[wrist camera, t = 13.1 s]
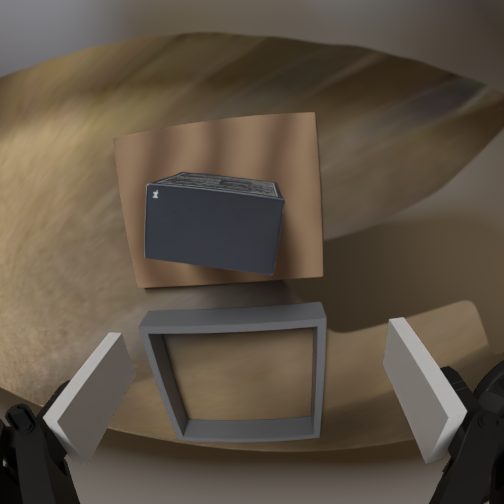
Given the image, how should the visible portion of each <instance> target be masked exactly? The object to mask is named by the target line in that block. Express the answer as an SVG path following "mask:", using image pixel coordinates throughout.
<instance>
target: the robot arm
mask: <svg viewBox="0 0 504 504" xmlns="http://www.w3.org/2000/svg"><path fill="white" fill-rule="evenodd" d="M383 367H384V369H385V371H386V373H387V375H388V377H389V380H390V382H391V384H392V386H393V388H394V391H395V393H396V395H397V397H398V399H399V402H400V404H401V406H402V409H403V411H404V413H405V415H406V418H407V420H408V422H409V425H410V427H411V429H412V432H413V434H414V437H415V439H416V441H417V444H418V446H419V449H420V451H421V454H422V456H423V459H424V461H425V464H428V463H431V462H434V461H437V460H441V459H443V457H444V456H445V454H446V452H447V450H448V451H449V453H450V455H451V458H450V460H449V461H448V463H447V465H446V466H445V468H444V470H443V472H444V473H443V475H442V478H441V480H440V481H439V483H438V485H437V488H436V491H435V493H434V495H433V497H432V499H431V501H430V503H429V504H504V361H502V362H501V363H500V364H498V365H497V366H496V367H495V368H493V369H492V370H491V371H490V372H489V373H488V374H487V375H486V376H485V378H484V379H483V380H482V381H481V383H480V384H479V385H478V387H477V388H476V390H475V391H474V393H472V392H471V390H470V389H469V388H468V387H467V385H466V383H465V382H463V379H462V378H461V376H460V375H459V373H458V372H457V371H455V370H454V369H452V368H451V367H449V366H447V367H443V368H439V367H438V365H437V364H436V362H435V361H434V360H433V358H432V357H431V355H430V354H429V352H428V351H427V349H426V348H425V347H424V345H423V344H422V342H421V341H420V339H419V338H418V337H417V335H416V334H415V333H414V331H413V330H412V328H411V327H410V326H409V324H408V323H407V322H406V320H405V319H404V318H403V317H402V318H395V319H389V325H388V333H387V340H386V347H385V353H384V360H383ZM135 376H136V373H135V371H134V368H133V365H132V362H131V359H130V356H129V354H128V351H127V348H126V344H125V341H124V338H123V335H122V333H109V334H108V335H107V336H106V337H105V339H104V340H103V341H102V342H101V344H100V345H99V346H98V347H97V348H96V350H95V351H94V352H93V353H92V355H91V356H90V357H89V358H88V360H87V361H86V362H85V363H84V365H83V366H82V367H81V368H80V370H79V371H78V372H77V373H76V375H75V376H74V377H73V379H72V380H71V381H69V380H68V381H66V382H65V383H64V384H62V385H61V386H60V387H59V388H58V389H57V390H56V392H55V393H54V395H52V397H51V398H50V400H49V401H48V402H47V403H46V404H45V406H44V407H43V408H42V410H41V411H40V412H39V414H38V415H37V416H36V417H35V416H34V414H33V413H32V411H31V409H30V408H29V406H27V405H26V404H17V405H14V406H12V407H11V408H10V409H9V410H8V411H7V413H6V415H5V418H6V420H7V421H8V423H9V424H10V426H11V427H9V426H6V425H5V424H4V422H3V421H2V420H1V419H0V504H80V502H79V499H78V496H77V493H76V490H75V487H74V484H73V481H72V478H71V474H70V471H69V468H68V464H67V462H66V460H65V459H64V457H65V455H66V454H68V455H69V456H70V458H71V459H72V460H73V461H74V462H77V463H80V464H84V465H88V463H89V461H90V459H91V457H92V455H93V453H94V451H95V449H96V447H97V445H98V444H99V442H100V440H101V438H102V436H103V434H104V432H105V431H106V429H107V427H108V425H109V423H110V421H111V419H112V418H113V416H114V414H115V412H116V410H117V408H118V407H119V405H120V403H121V401H122V399H123V397H124V396H125V394H126V392H127V390H128V388H129V387H130V385H131V383H132V381H133V380H134V378H135ZM3 460H4V461H5V462H6V464H5V467H4V466H3Z"/></svg>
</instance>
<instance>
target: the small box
mask: <svg viewBox="0 0 504 504" xmlns="http://www.w3.org/2000/svg"><path fill="white" fill-rule="evenodd" d="M284 206H285V199H284V198H283V197H282V194H281V192H280V189H279V187H278V183H275V182H268V181H261V180H253V179H246V178H238V177H230V176H221V175H214V174H205V173H204V174H203V173H191V172H180V173H178V174H176V175H173V176H170V177H166V178H163V179H160V180H157V181H154V182H152V183H149V184H147V185H146V201H145V226H144V227H145V230H144V257H145V258H147V259H155V260H162V261H169V262H177V263H184V264H191V265H199V266H207V267H214V268H221V269H228V270H236V271H243V272H251V273H258V274H266V275H273V273H274V269H275V264H276V258H277V252H278V246H279V239H280V233H281V227H282V219H283V213H284Z"/></svg>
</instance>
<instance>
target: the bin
mask: <svg viewBox="0 0 504 504" xmlns="http://www.w3.org/2000/svg"><path fill="white" fill-rule="evenodd" d="M305 327H313V364H312V398H311V416H309V417H298V418H284V419H266V420H193V419H187V416H186V413H185V410H184V407H183V404H182V401H181V398H180V395H179V392H178V388H177V385H176V382H175V379H174V376H173V372H172V369H171V365H170V362H169V359H168V355H167V351H166V348H165V344H164V341H163V337H162V334H183V333H224V332H247V331H265V330H280V329H293V328H305ZM139 330H140V333H141V337H142V340H143V343H144V347H145V350H146V353H147V356H148V359H149V362H150V365H151V368H152V371H153V374H154V377H155V380H156V383H157V386H158V389H159V391H160V394H161V397H162V400H163V402H164V405H165V408H166V410H167V413H168V415H169V418H170V420H171V423H172V425H173V428H174V430H175V433H176V435H177V437H178V440H187V441H204V442H270V441H288V440H301V439H311V438H319V437H320V426H321V415H322V402H323V387H324V371H325V350H326V315H325V312H324V309H323V307H322V304H321V302H313V303H301V304H288V305H274V306H259V307H243V308H224V309H201V310H169V311H149V312H148V313H147V315H146V316H145V318H144V319H143V321H142V322H141V324H140V325H139Z"/></svg>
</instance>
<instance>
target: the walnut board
mask: <svg viewBox="0 0 504 504" xmlns="http://www.w3.org/2000/svg"><path fill="white" fill-rule="evenodd" d="M113 140H114V150H115V159H116V167H117V175H118V183H119V190H120V197H121V203H122V210H123V216H124V222H125V227H126V233H127V238H128V243H129V248H130V253H131V258H132V263H133V268H134V272H135V277H136V281H137V285H138V288H147V287H170V286H190V285H208V284H225V283H241V282H256V281H271V280H285V279H298V278H311V277H321V276H323V248H322V246H323V245H322V213H321V192H320V174H319V159H318V145H317V133H316V122H315V112H310V113H286V114H270V115H257V116H246V117H236V118H227V119H219V120H211V121H204V122H197V123H190V124H183V125H177V126H171V127H166V128H160V129H155V130H150V131H145V132H140V133H135V134H130V135H126V136H121V137H117V138H113ZM180 172H191V173H203V174H204V173H205V174H214V175H221V176H230V177H238V178H246V179H253V180H261V181H268V182H275V183H278V187H279V189H280V192H281V194H282V197H283V198H284V199H285V206H284V213H283V219H282V227H281V233H280V239H279V246H278V252H277V258H276V264H275V269H274V273H273V275H266V274H258V273H251V272H243V271H236V270H228V269H221V268H214V267H207V266H199V265H191V264H184V263H177V262H169V261H162V260H155V259H147V258H145V257H144V230H145V227H144V226H145V201H146V185H147V184H149V183H152V182H154V181H157V180H160V179H163V178H166V177H170V176H173V175H176V174H178V173H180Z"/></svg>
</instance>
